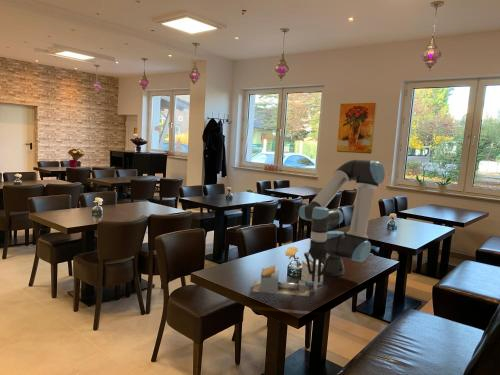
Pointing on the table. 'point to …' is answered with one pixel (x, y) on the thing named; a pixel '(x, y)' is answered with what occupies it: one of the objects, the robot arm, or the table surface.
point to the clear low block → (293, 286)
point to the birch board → (281, 290)
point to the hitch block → (270, 283)
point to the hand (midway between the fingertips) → (315, 288)
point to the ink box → (307, 276)
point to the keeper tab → (268, 271)
